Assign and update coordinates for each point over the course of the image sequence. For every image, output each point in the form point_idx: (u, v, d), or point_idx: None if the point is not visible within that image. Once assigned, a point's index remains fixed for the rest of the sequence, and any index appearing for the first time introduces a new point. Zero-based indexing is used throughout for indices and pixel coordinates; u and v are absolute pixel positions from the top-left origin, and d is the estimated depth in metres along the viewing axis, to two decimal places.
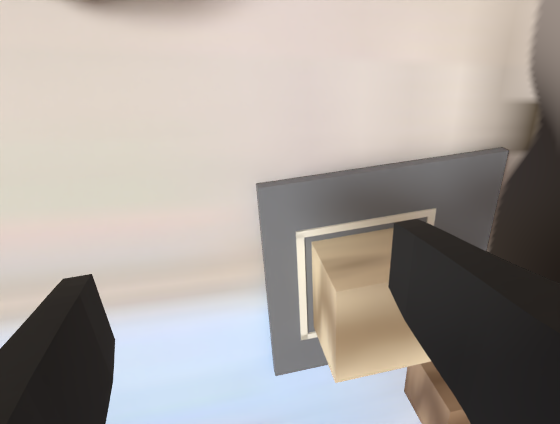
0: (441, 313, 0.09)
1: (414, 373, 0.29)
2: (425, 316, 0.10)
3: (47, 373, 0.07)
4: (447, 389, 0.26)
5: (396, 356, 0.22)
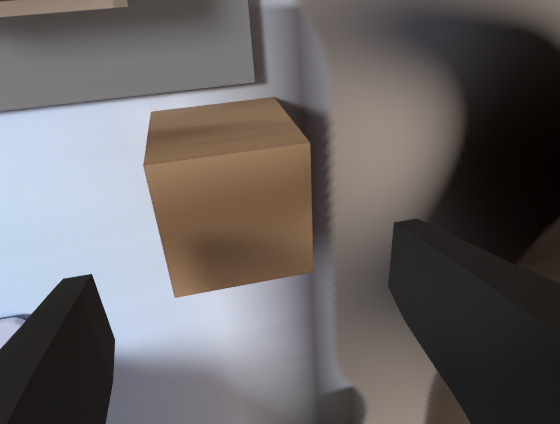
0: (441, 313, 0.09)
1: None
2: (425, 316, 0.10)
3: (47, 373, 0.07)
4: (168, 143, 0.13)
5: None
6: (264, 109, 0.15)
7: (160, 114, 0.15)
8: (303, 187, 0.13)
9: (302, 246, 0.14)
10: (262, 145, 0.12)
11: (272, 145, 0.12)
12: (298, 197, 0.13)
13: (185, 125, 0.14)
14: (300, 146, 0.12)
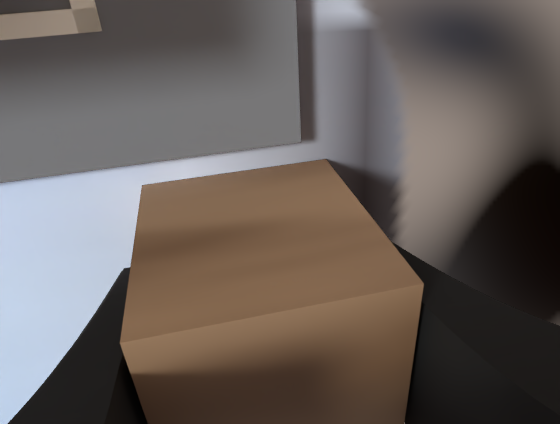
0: None
1: None
2: None
3: None
4: (168, 272, 0.07)
5: None
6: (318, 187, 0.10)
7: (156, 193, 0.10)
8: (402, 348, 0.07)
9: None
10: (336, 285, 0.07)
11: (355, 287, 0.07)
12: (391, 362, 0.07)
13: (195, 223, 0.09)
14: (406, 290, 0.07)
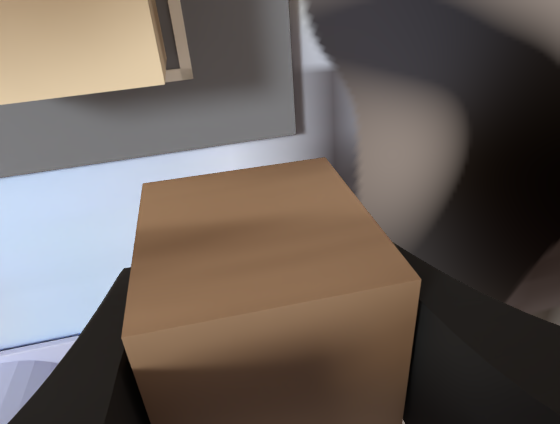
0: None
1: None
2: None
3: None
4: (169, 268, 0.07)
5: (43, 59, 0.11)
6: (317, 185, 0.10)
7: (157, 191, 0.10)
8: (400, 343, 0.07)
9: (386, 420, 0.08)
10: (334, 281, 0.07)
11: (353, 283, 0.07)
12: (390, 358, 0.07)
13: (195, 221, 0.09)
14: (404, 286, 0.07)
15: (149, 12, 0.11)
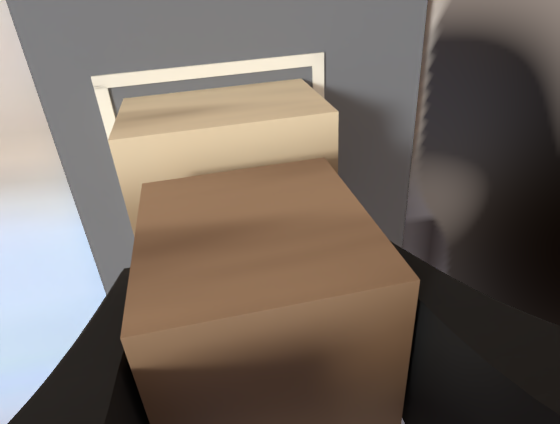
0: None
1: None
2: None
3: None
4: (168, 269, 0.07)
5: None
6: (316, 185, 0.10)
7: (156, 191, 0.10)
8: (399, 344, 0.07)
9: (385, 420, 0.08)
10: (333, 281, 0.07)
11: (352, 284, 0.07)
12: (388, 358, 0.07)
13: (194, 221, 0.09)
14: (402, 286, 0.07)
15: None
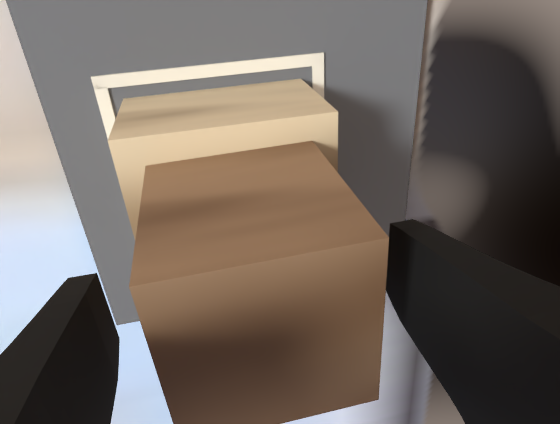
0: (436, 314, 0.09)
1: None
2: (421, 317, 0.10)
3: (54, 372, 0.07)
4: (169, 234, 0.08)
5: None
6: (303, 164, 0.11)
7: (158, 172, 0.11)
8: (373, 297, 0.08)
9: (365, 371, 0.09)
10: (314, 240, 0.08)
11: (330, 242, 0.08)
12: (365, 311, 0.08)
13: (193, 195, 0.10)
14: (374, 243, 0.08)
15: None
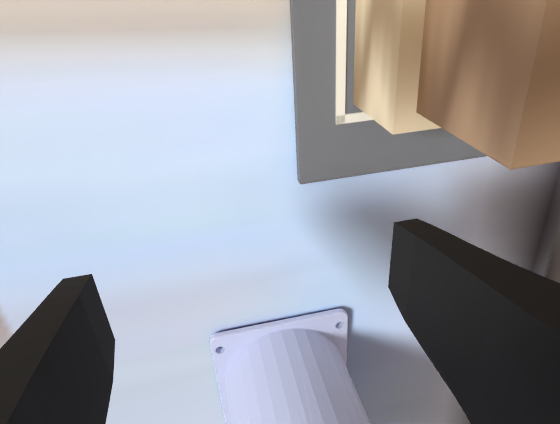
0: (441, 313, 0.09)
1: (440, 22, 0.13)
2: (425, 316, 0.10)
3: (47, 373, 0.07)
4: None
5: None
6: None
7: None
8: None
9: None
10: None
11: None
12: None
13: None
14: None
15: None
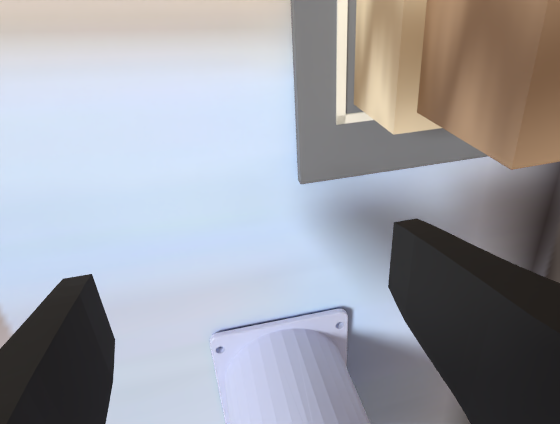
0: (441, 313, 0.09)
1: (441, 23, 0.13)
2: (425, 316, 0.10)
3: (47, 373, 0.07)
4: None
5: None
6: None
7: None
8: None
9: None
10: None
11: None
12: None
13: None
14: None
15: None
